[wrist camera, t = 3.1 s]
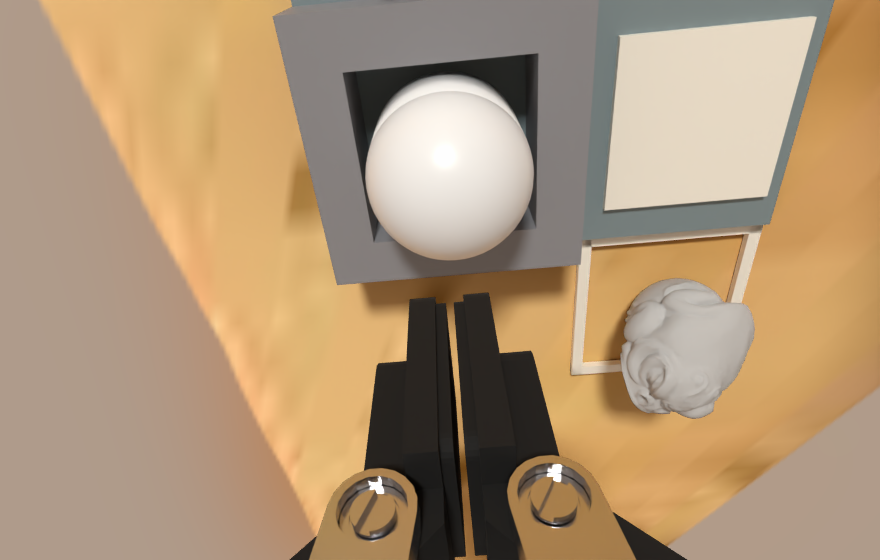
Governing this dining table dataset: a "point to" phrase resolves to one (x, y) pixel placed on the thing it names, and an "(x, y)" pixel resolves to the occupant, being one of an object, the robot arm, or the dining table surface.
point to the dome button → (449, 167)
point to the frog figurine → (683, 347)
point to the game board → (566, 120)
